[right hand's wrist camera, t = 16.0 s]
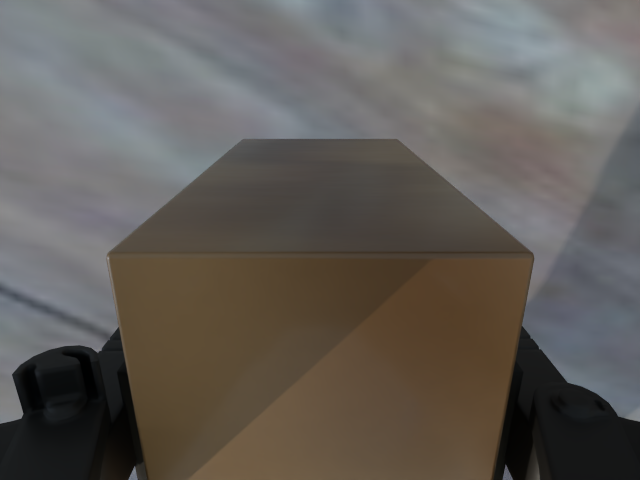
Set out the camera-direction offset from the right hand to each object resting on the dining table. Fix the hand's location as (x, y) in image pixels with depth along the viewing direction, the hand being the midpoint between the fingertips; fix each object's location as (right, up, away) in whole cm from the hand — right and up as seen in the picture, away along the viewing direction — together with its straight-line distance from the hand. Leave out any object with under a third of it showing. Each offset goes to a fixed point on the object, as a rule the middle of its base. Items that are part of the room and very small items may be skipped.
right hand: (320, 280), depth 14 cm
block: (0, +1, +3) cm, 3 cm away
